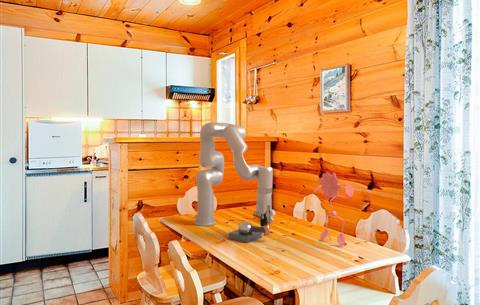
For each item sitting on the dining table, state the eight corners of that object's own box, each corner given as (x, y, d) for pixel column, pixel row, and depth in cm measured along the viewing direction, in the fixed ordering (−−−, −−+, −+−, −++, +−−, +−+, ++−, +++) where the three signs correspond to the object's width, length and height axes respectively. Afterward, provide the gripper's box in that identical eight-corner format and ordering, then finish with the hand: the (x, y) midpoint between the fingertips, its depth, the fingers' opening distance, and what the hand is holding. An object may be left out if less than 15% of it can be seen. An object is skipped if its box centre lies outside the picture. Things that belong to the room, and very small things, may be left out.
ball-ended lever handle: (236, 232, 180) (236, 223, 179) (241, 229, 186) (241, 220, 186) (266, 236, 173) (267, 227, 173) (271, 233, 179) (271, 224, 179)
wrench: (256, 218, 238) (275, 223, 210) (254, 218, 237) (273, 224, 209) (256, 206, 239) (275, 210, 210) (253, 206, 238) (272, 210, 210)
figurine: (319, 235, 187) (320, 168, 185) (360, 249, 166) (361, 173, 164) (297, 240, 179) (297, 170, 177) (337, 255, 158) (338, 176, 155)
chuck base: (228, 238, 181) (228, 232, 180) (243, 233, 190) (243, 228, 190) (247, 243, 173) (247, 236, 173) (261, 237, 183) (261, 231, 183)
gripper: (252, 188, 189) (251, 222, 190) (263, 193, 175) (262, 230, 176) (266, 188, 191) (265, 222, 192) (277, 192, 177) (276, 229, 178)
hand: (263, 226), depth 184 cm, fingers closed
